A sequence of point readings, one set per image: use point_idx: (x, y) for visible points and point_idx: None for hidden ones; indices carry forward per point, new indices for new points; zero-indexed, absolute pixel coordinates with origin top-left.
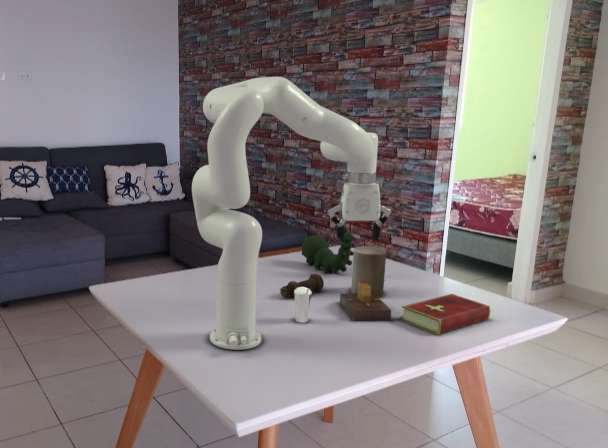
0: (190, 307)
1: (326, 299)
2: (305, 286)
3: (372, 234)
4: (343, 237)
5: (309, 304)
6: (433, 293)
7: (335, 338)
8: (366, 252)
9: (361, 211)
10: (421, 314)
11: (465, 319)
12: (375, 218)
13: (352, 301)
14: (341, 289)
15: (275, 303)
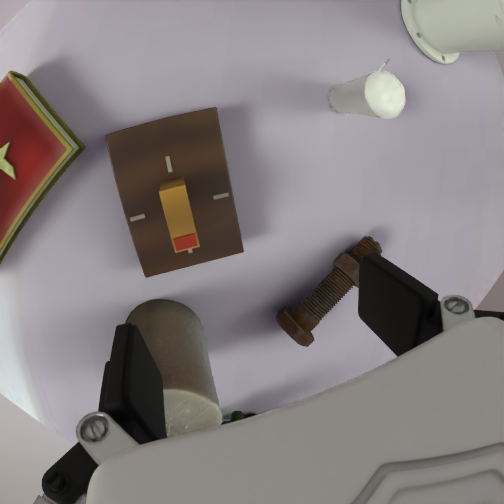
0: (481, 167)
1: (269, 260)
2: (326, 286)
3: (160, 390)
4: (373, 267)
5: (349, 90)
6: (31, 354)
7: (271, 4)
8: (179, 399)
9: (421, 482)
10: (35, 104)
11: None
12: (134, 463)
13: (214, 184)
14: (225, 339)
15: (381, 206)
